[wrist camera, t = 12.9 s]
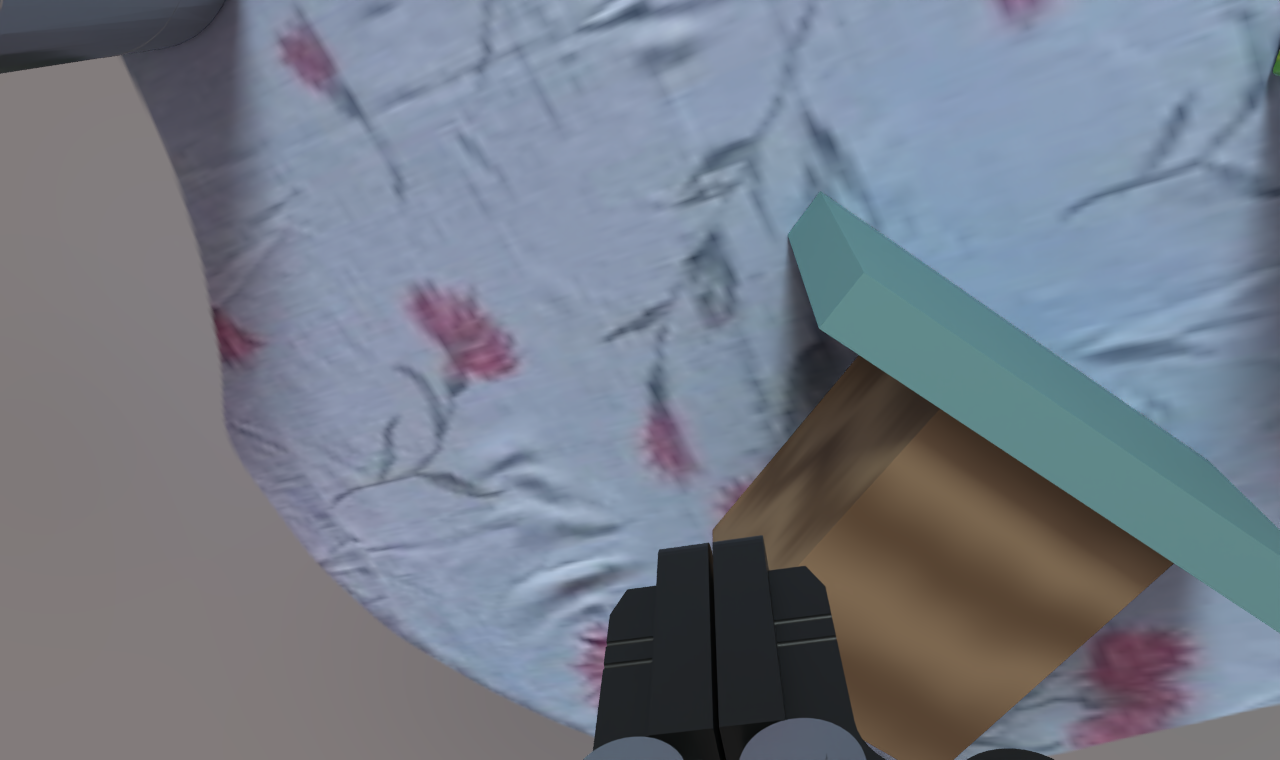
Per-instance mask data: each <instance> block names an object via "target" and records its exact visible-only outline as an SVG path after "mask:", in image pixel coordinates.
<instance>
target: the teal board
mask: <svg viewBox="0 0 1280 760" xmlns="http://www.w3.org/2000/svg"><path fill="white" fill-rule="evenodd" d="M788 237H789V240H790V243H791V246H792V249H793V252H794V255H795V258H796V261H797V264H798V267H799V270H800V273H801V276H802V279H803V282H804V285H805V288H806V291H807V294H808V297H809V300H810V303H811V306H812V309H813V312H814V315H815V318H816V321H817V324H818V327H819V329H820V330H822V331H823V332H825V333H826V334H828V335H829V336H831V337H833V338H834V339H836V340H837V341H839V342H840V343H842V344H843V345H845V346H846V347H848V348H849V349H851V350H852V351H854V352H855V353H857V354H858V355H860V356H861V357H863V358H864V359H866V360H867V361H869V362H870V363H872V364H873V365H875V366H876V367H878V368H879V369H881V370H882V371H884V372H885V373H887V374H888V375H890V376H892V377H893V378H895V379H896V380H898V381H899V382H901V383H902V384H904V385H905V386H907V387H908V388H910V389H911V390H913V391H914V392H916V393H917V394H919V395H920V396H922V397H923V398H925V399H926V400H928V401H929V402H931V403H932V404H934V405H935V406H937V407H938V408H940V409H941V410H943V411H944V412H946V413H947V414H949V415H950V416H952V417H954V418H955V419H957V420H958V421H960V422H961V423H963V424H964V425H966V426H967V427H969V428H970V429H972V430H973V431H975V432H976V433H978V434H979V435H981V436H982V437H984V438H985V439H987V440H988V441H990V442H991V443H993V444H994V445H996V446H997V447H999V448H1000V449H1002V450H1003V451H1005V452H1006V453H1008V454H1009V455H1011V456H1013V457H1014V458H1016V459H1017V460H1019V461H1020V462H1022V463H1023V464H1025V465H1026V466H1028V467H1029V468H1031V469H1032V470H1034V471H1035V472H1037V473H1038V474H1040V475H1041V476H1043V477H1044V478H1046V479H1047V480H1049V481H1050V482H1052V483H1053V484H1055V485H1056V486H1058V487H1059V488H1061V489H1062V490H1064V491H1065V492H1067V493H1068V494H1070V495H1071V496H1073V497H1075V498H1076V499H1078V500H1079V501H1081V502H1082V503H1084V504H1085V505H1087V506H1088V507H1090V508H1091V509H1093V510H1094V511H1096V512H1097V513H1099V514H1100V515H1102V516H1103V517H1105V518H1106V519H1108V520H1109V521H1111V522H1112V523H1114V524H1115V525H1117V526H1118V527H1120V528H1121V529H1123V530H1124V531H1126V532H1127V533H1129V534H1130V535H1132V536H1134V537H1135V538H1137V539H1138V540H1140V541H1141V542H1143V543H1144V544H1146V545H1147V546H1149V547H1150V548H1152V549H1153V550H1155V551H1156V552H1158V553H1159V554H1161V555H1162V556H1164V557H1165V558H1167V559H1168V560H1170V561H1171V562H1173V563H1174V564H1176V565H1177V566H1179V567H1180V568H1182V569H1183V570H1185V571H1186V572H1188V573H1189V574H1191V575H1192V576H1194V577H1196V578H1197V579H1199V580H1200V581H1202V582H1203V583H1205V584H1206V585H1208V586H1209V587H1211V588H1212V589H1214V590H1215V591H1217V592H1218V593H1220V594H1221V595H1223V596H1224V597H1226V598H1227V599H1229V600H1230V601H1232V602H1233V603H1235V604H1236V605H1238V606H1239V607H1241V608H1242V609H1244V610H1245V611H1247V612H1248V613H1250V614H1251V615H1253V616H1255V617H1256V618H1258V619H1259V620H1261V621H1262V622H1264V623H1265V624H1267V625H1268V626H1270V627H1271V628H1273V629H1274V630H1276V631H1277V632H1279V633H1280V530H1279V529H1278V528H1277V527H1276V526H1275V525H1274V524H1273V523H1272V522H1271V521H1270V520H1269V519H1268V518H1267V517H1266V516H1265V515H1264V514H1263V513H1262V512H1261V511H1260V510H1259V509H1258V508H1256V507H1255V506H1254V505H1253V504H1252V503H1251V502H1250V501H1249V500H1248V499H1247V498H1246V497H1245V496H1244V495H1243V494H1242V493H1241V492H1240V491H1239V490H1238V489H1237V488H1236V487H1235V486H1234V485H1233V484H1232V483H1231V482H1230V481H1229V480H1228V479H1227V478H1226V477H1225V476H1224V475H1223V474H1222V473H1220V472H1219V471H1218V470H1217V469H1216V468H1215V467H1214V466H1213V465H1212V464H1211V463H1210V462H1209V461H1208V460H1206V459H1205V458H1203V457H1202V456H1201V455H1199V454H1198V453H1196V452H1195V451H1193V450H1192V449H1190V448H1189V447H1188V446H1186V445H1185V444H1183V443H1182V442H1180V441H1179V440H1177V439H1176V438H1175V437H1173V436H1172V435H1170V434H1169V433H1167V432H1166V431H1165V430H1163V429H1162V428H1160V427H1159V426H1157V425H1156V424H1154V423H1153V422H1152V421H1150V420H1149V419H1147V418H1146V417H1144V416H1143V415H1141V414H1140V413H1139V412H1137V411H1136V410H1134V409H1133V408H1131V407H1130V406H1129V405H1127V404H1126V403H1124V402H1123V401H1121V400H1120V399H1118V398H1117V397H1116V396H1114V395H1113V394H1111V393H1110V392H1108V391H1107V390H1105V389H1104V388H1103V387H1101V386H1100V385H1098V384H1097V383H1095V382H1094V381H1093V380H1091V379H1090V378H1088V377H1087V376H1085V375H1084V374H1082V373H1081V372H1080V371H1078V370H1077V369H1075V368H1074V367H1072V366H1071V365H1070V364H1068V363H1067V362H1065V361H1064V360H1062V359H1061V358H1059V357H1058V356H1057V355H1055V354H1054V353H1052V352H1051V351H1049V350H1048V349H1046V348H1045V347H1044V346H1042V345H1041V344H1039V343H1038V342H1036V341H1035V340H1034V339H1032V338H1031V337H1029V336H1028V335H1026V334H1025V333H1023V332H1022V331H1021V330H1019V329H1018V328H1016V327H1015V326H1013V325H1012V324H1010V323H1009V322H1008V321H1006V320H1005V319H1003V318H1002V317H1000V316H999V315H998V314H996V313H995V312H993V311H992V310H990V309H989V308H987V307H986V306H985V305H983V304H982V303H980V302H979V301H977V300H976V299H974V298H973V297H972V296H970V295H969V294H967V293H966V292H964V291H963V290H962V289H960V288H959V287H957V286H956V285H954V284H953V283H951V282H950V281H949V280H947V279H946V278H944V277H943V276H941V275H940V274H939V273H937V272H936V271H934V270H933V269H931V268H930V267H928V266H927V265H926V264H924V263H923V262H921V261H920V260H918V259H917V258H915V257H914V256H913V255H911V254H910V253H908V252H907V251H905V250H904V249H903V248H901V247H900V246H898V245H897V244H895V243H894V242H892V241H891V240H890V239H888V238H887V237H885V236H884V235H882V234H881V233H879V232H878V231H877V230H875V229H874V228H872V227H871V226H869V225H868V224H867V223H865V222H864V221H862V220H861V219H859V218H858V217H856V216H855V215H854V214H852V213H851V212H849V211H848V210H846V209H845V208H843V207H842V206H841V205H839V204H838V203H836V202H835V201H833V200H832V199H831V198H829V197H828V196H826V195H825V194H823V193H822V192H819V194H818V195H817V196H816V198H815V199H814V200H813V202H812V203H811V204H810V206H809V207H808V208H807V210H806V211H805V212H804V214H803V215H802V216H801V218H800V219H799V220H798V222H797V223H796V224H795V226H794V227H793V228H792V230H791V231H790V232H789V234H788Z"/></svg>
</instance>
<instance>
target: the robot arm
mask: <svg viewBox="0 0 1280 760" xmlns="http://www.w3.org/2000/svg"><path fill="white" fill-rule="evenodd" d="M224 1H225V0H0V74H1V73H7V72H14V71H20V70H27V69H33V68H39V67H45V66H52V65H59V64H65V63H71V62H78V61H84V60H90V59H97V58H105V57H112V56H118V55H125V54H131V53H137V52H144V51H150V50H156V49H161V48H166V47H170V46H175V45H178V44H180V43H182V42H184V41H186V40H188V39H190V38H192V37H194V36H196V35H197V34H198V33H199V32H201V31H202V30H203V29H204V28H205V27H206V26H207V25H208V24H209V23H211V22H212V20H213V19H214V17H215V16H216V14H217V13H218V11H219V10H220V8H221V7H222V5H223V3H224ZM583 760H885V759H884V758H882V757H881V756H879V755H878V754H876V753H875V752H874V751H873V750H872V749H871V748H870V747H869V746H868V745H867V744H866V743H865V741H864V740H863V739H862V737H861V736H860V734H859V732H858V730H857V727H856V724H855V721H854V716H853V712H852V707H851V702H850V698H849V693H848V688H847V684H846V679H845V675H844V670H843V665H842V661H841V656H840V651H839V647H838V642H837V638H836V633H835V628H834V624H833V619H832V615H831V610H830V605H829V600H828V596H827V591H826V587H825V585H824V584H823V583H822V582H821V581H820V580H819V579H818V578H817V577H816V576H815V575H814V574H813V573H812V572H811V571H810V570H809V569H808V568H807V567H806V566H799V567H791V568H784V569H776V570H769V567H768V561H767V555H766V549H765V544H764V539H763V535H760V536H753V537H746V538H738V539H731V540H724V541H717V542H713V555H712V550H711V547H710V544H709V543H704V544H696V545H689V546H682V547H675V548H667V549H660V550H659V552H658V565H657V583H656V586H650V587H643V588H635V589H628V590H627V591H626V592H625V594H624V595H623V596H622V598H621V599H620V601H619V602H618V604H617V605H616V607H615V608H614V610H613V611H612V613H611V614H610V619H609V627H608V635H607V647H606V651H605V659H604V669H603V675H602V683H601V691H600V699H599V707H598V715H597V723H596V731H595V739H594V747H593V752H592V753H590V754H589V755H587V756H586V757H585V758H584V759H583ZM967 760H1054V759H1052V758H1050V757H1047V756H1045V755H1042V754H1039V753H1036V752H1032V751H1028V750H1021V749H996V750H989V751H986V752H982V753H979V754H977V755H975V756H973V757H971V758H969V759H967Z"/></svg>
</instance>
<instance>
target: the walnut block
mask: <svg viewBox="0 0 1280 760" xmlns="http://www.w3.org/2000/svg"><path fill="white" fill-rule="evenodd" d="M760 535H763V539H764V544H765V549H766V555H767V561H768V567H769V570H776V569H784V568H791V567H799V566H806V567H807V568H808V569H809V570H810V571H811V572H812V573H813V574H814V575H815V576H816V577H817V578H818V579H819V580H820V581H821V582H822V583H823V584H824V585H825V587H826V591H827V596H828V600H829V605H830V610H831V615H832V619H833V624H834V628H835V633H836V638H837V642H838V647H839V651H840V656H841V661H842V665H843V670H844V675H845V679H846V684H847V688H848V693H849V698H850V702H851V707H852V712H853V716H854V721H855V724H856V727H857V730H858V732H859V734H860V736H861V737H862V739H863V740H864V741H866V742H867V743H869V744H871V745H873V746H874V747H876V748H878V749H880V750H881V751H883V752H885V753H887V754H888V755H890V756H892V757H894V758H895V759H897V760H954V759H955V758H956V757H957V756H958V755H959V754H960V753H961V752H963V751H964V750H965V749H966V748H967V747H968V746H969V745H970V744H972V743H973V742H974V741H975V740H976V739H977V738H978V737H979V736H981V735H982V734H983V733H984V732H985V731H986V730H987V729H988V728H990V727H991V726H992V725H993V724H994V723H995V722H996V721H997V720H999V719H1000V718H1001V717H1002V716H1003V715H1004V714H1005V713H1006V712H1008V711H1009V710H1010V709H1011V708H1012V707H1013V706H1014V705H1015V704H1017V703H1018V702H1019V701H1020V700H1021V699H1022V698H1023V697H1024V696H1026V695H1027V694H1028V693H1029V692H1030V691H1031V690H1032V689H1033V688H1034V687H1036V686H1037V685H1038V684H1039V683H1040V682H1041V681H1042V680H1043V679H1045V678H1046V677H1047V676H1048V675H1049V674H1050V673H1051V672H1052V671H1054V670H1055V669H1056V668H1057V667H1058V666H1059V665H1060V664H1061V663H1063V662H1064V661H1065V660H1066V659H1067V658H1068V657H1069V656H1070V655H1072V654H1073V653H1074V652H1075V651H1076V650H1077V649H1078V648H1079V647H1081V646H1082V645H1083V644H1084V643H1085V642H1086V641H1087V640H1088V639H1090V638H1091V637H1092V636H1093V635H1094V634H1095V633H1096V632H1097V631H1099V630H1100V629H1101V628H1102V627H1103V626H1104V625H1105V624H1106V623H1108V622H1109V621H1110V620H1111V619H1112V618H1113V617H1114V616H1115V615H1117V614H1118V613H1119V612H1120V611H1121V610H1122V609H1123V608H1124V607H1125V606H1127V605H1128V604H1129V603H1130V602H1131V601H1132V600H1133V599H1134V598H1136V597H1137V596H1138V595H1139V594H1140V593H1141V592H1142V591H1143V590H1145V589H1146V588H1147V587H1148V586H1149V585H1150V584H1151V583H1152V582H1154V581H1155V580H1156V579H1157V578H1158V577H1159V576H1160V575H1161V574H1163V573H1164V572H1165V571H1166V570H1167V569H1168V568H1169V567H1170V566H1172V565H1173V564H1174V563H1173V562H1171V561H1170V560H1168V559H1167V558H1165V557H1164V556H1162V555H1161V554H1159V553H1158V552H1156V551H1155V550H1153V549H1152V548H1150V547H1149V546H1147V545H1146V544H1144V543H1143V542H1141V541H1140V540H1138V539H1137V538H1135V537H1134V536H1132V535H1130V534H1129V533H1127V532H1126V531H1124V530H1123V529H1121V528H1120V527H1118V526H1117V525H1115V524H1114V523H1112V522H1111V521H1109V520H1108V519H1106V518H1105V517H1103V516H1102V515H1100V514H1099V513H1097V512H1096V511H1094V510H1093V509H1091V508H1090V507H1088V506H1087V505H1085V504H1084V503H1082V502H1081V501H1079V500H1078V499H1076V498H1075V497H1073V496H1071V495H1070V494H1068V493H1067V492H1065V491H1064V490H1062V489H1061V488H1059V487H1058V486H1056V485H1055V484H1053V483H1052V482H1050V481H1049V480H1047V479H1046V478H1044V477H1043V476H1041V475H1040V474H1038V473H1037V472H1035V471H1034V470H1032V469H1031V468H1029V467H1028V466H1026V465H1025V464H1023V463H1022V462H1020V461H1019V460H1017V459H1016V458H1014V457H1013V456H1011V455H1009V454H1008V453H1006V452H1005V451H1003V450H1002V449H1000V448H999V447H997V446H996V445H994V444H993V443H991V442H990V441H988V440H987V439H985V438H984V437H982V436H981V435H979V434H978V433H976V432H975V431H973V430H972V429H970V428H969V427H967V426H966V425H964V424H963V423H961V422H960V421H958V420H957V419H955V418H954V417H952V416H950V415H949V414H947V413H946V412H944V411H943V410H941V409H940V408H938V407H937V406H935V405H934V404H932V403H931V402H929V401H928V400H926V399H925V398H923V397H922V396H920V395H919V394H917V393H916V392H914V391H913V390H911V389H910V388H908V387H907V386H905V385H904V384H902V383H901V382H899V381H898V380H896V379H895V378H893V377H892V376H890V375H888V374H887V373H885V372H884V371H882V370H881V369H879V368H878V367H876V366H875V365H873V364H872V363H870V362H869V361H867V360H866V359H864V358H863V357H861V356H860V355H859V356H858V357H857V358H856V359H855V361H854V362H853V363H852V364H851V365H850V367H849V368H848V369H847V370H846V371H845V372H844V374H843V375H842V376H841V377H840V378H839V380H838V381H837V382H836V383H835V384H834V386H833V387H832V388H831V389H830V390H829V392H828V393H827V394H826V395H825V396H824V398H823V399H822V400H821V401H820V402H819V404H818V405H817V406H816V407H815V408H814V409H813V411H812V412H811V413H810V414H809V415H808V417H807V418H806V419H805V420H804V421H803V423H802V424H801V425H800V426H799V427H798V429H797V430H796V431H795V432H794V433H793V435H792V436H791V437H790V438H789V439H788V441H787V442H786V443H785V444H784V445H783V446H782V448H781V449H780V450H779V451H778V452H777V454H776V455H775V456H774V457H773V458H772V460H771V461H770V462H769V463H768V464H767V466H766V467H765V468H764V469H763V470H762V472H761V473H760V474H759V475H758V476H757V478H756V479H755V480H754V481H753V482H752V483H751V485H750V486H749V487H748V488H747V489H746V491H745V492H744V493H743V494H742V495H741V497H740V498H739V499H738V500H737V501H736V503H735V504H734V505H733V506H732V507H731V509H730V510H729V511H728V512H727V513H726V515H725V516H724V517H723V518H722V519H721V520H720V522H719V523H718V524H717V525H716V526H715V528H714V529H713V542H717V541H724V540H731V539H738V538H746V537H753V536H760Z"/></svg>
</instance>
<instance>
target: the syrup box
mask: <svg viewBox="0 0 1280 760" xmlns="http://www.w3.org/2000/svg"><path fill="white" fill-rule="evenodd" d="M1273 74H1274V75H1276V76H1280V50H1279V54H1278V57H1277V59H1276V63H1275V65H1274V68H1273Z"/></svg>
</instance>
